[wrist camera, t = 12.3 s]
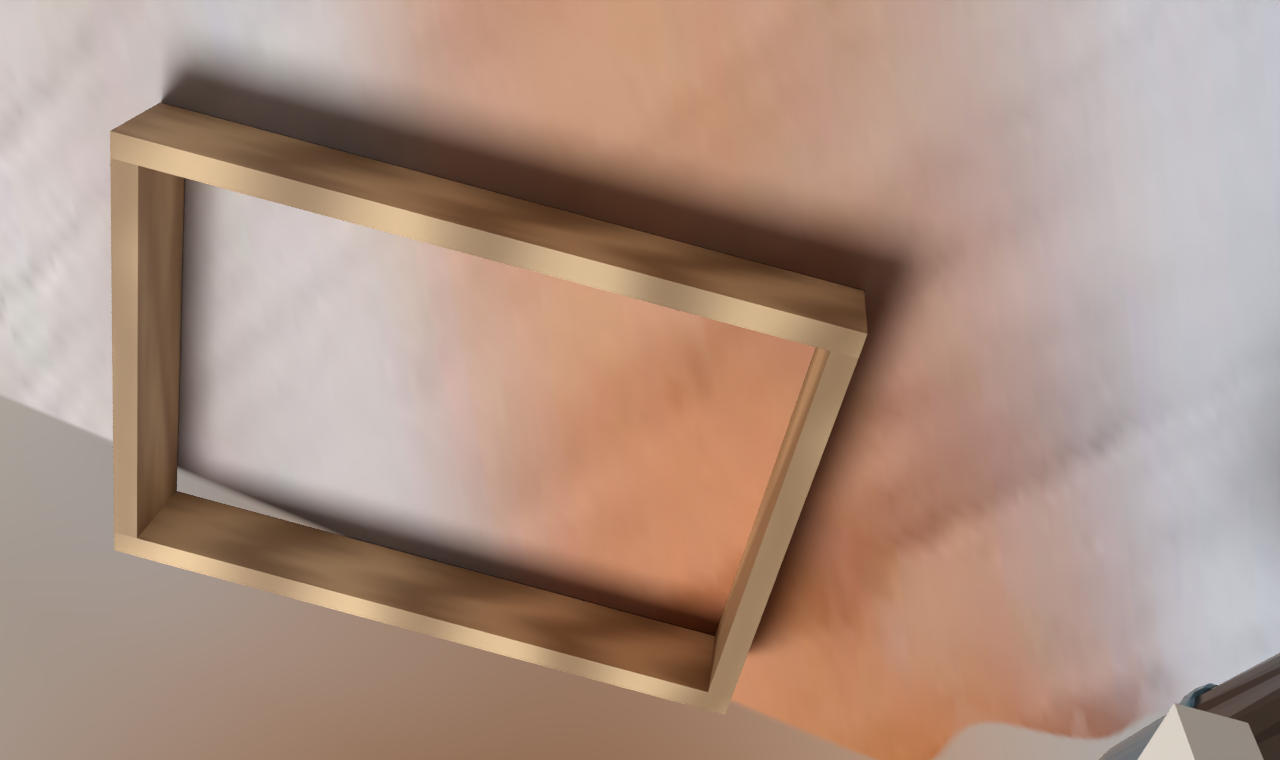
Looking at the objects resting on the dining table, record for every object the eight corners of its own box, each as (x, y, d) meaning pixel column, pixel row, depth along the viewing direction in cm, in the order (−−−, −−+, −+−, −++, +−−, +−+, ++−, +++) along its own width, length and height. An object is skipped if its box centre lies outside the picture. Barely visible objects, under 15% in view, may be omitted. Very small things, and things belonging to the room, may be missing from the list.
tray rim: (864, 290, 43) (867, 334, 40) (730, 657, 53) (724, 714, 50) (160, 102, 43) (110, 131, 40) (155, 502, 53) (114, 550, 50)
